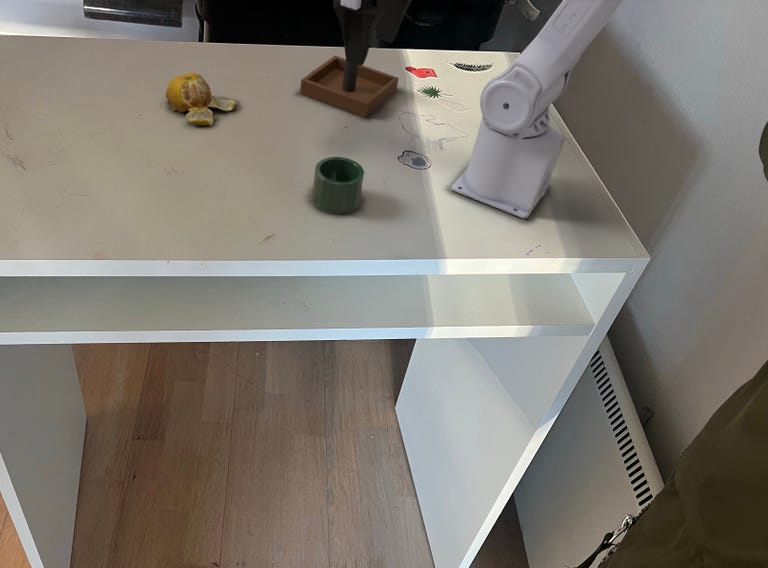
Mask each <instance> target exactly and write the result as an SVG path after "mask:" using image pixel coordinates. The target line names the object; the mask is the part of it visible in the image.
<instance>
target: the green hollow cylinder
mask: <svg viewBox="0 0 768 568" xmlns="http://www.w3.org/2000/svg"><path fill="white" fill-rule="evenodd" d="M364 177H365V170H364V168H363V166H362V165H361V164H359V163H358V162H357V161H355V160H353V159H350V158H347V157H343V156H329V157H326V158H322V159H321V160H320V161H318V162H317V163H316V165H315V169H314V176H313V185H312V197H311V198H312V199H311V200H312V203H313V204H314V205H315V207H317V208H318V209H319V210H321V211H323V212H325V213H328V214H332V215H345V214H349V213H352V212H353V211H355V210H356V209H357V208H358V207H359V205H360V198H361V193H362V188H363V182H364Z"/></svg>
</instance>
